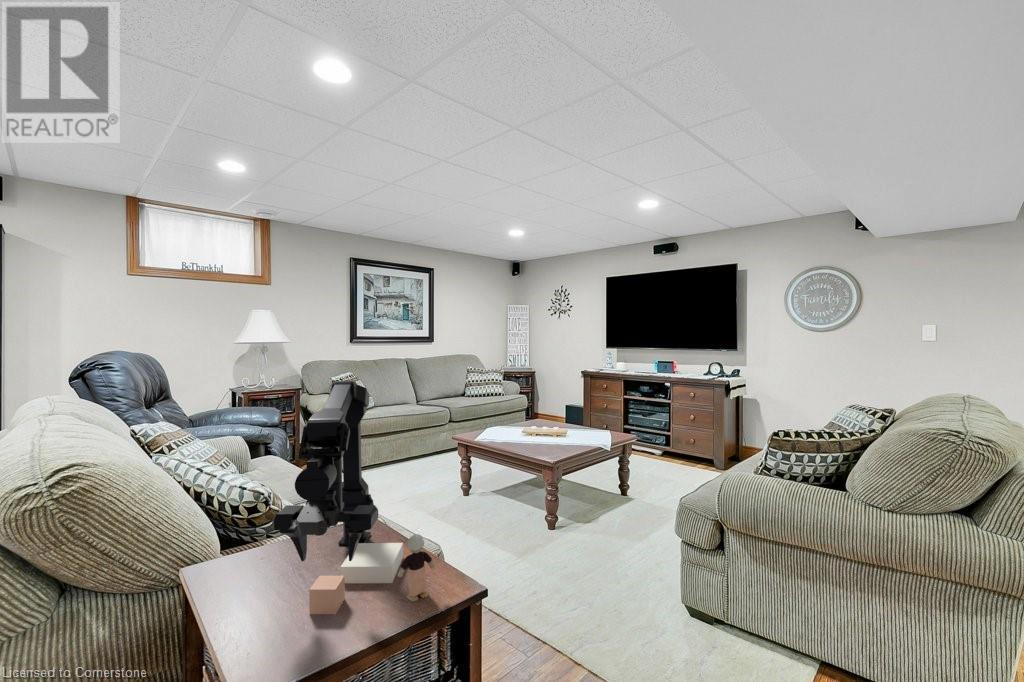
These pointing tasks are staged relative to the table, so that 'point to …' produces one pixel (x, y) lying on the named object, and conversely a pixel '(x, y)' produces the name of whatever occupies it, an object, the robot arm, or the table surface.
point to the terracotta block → (327, 595)
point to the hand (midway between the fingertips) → (327, 560)
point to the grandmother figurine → (416, 568)
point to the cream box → (373, 563)
